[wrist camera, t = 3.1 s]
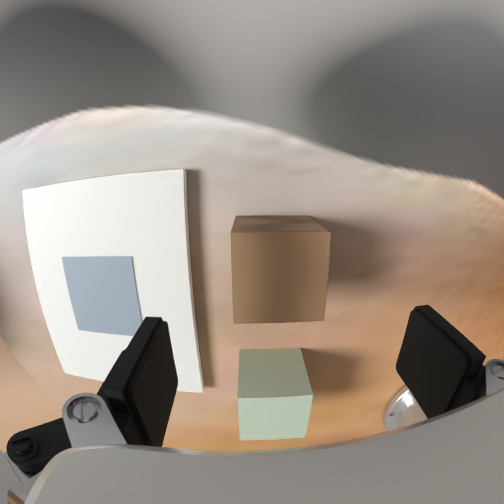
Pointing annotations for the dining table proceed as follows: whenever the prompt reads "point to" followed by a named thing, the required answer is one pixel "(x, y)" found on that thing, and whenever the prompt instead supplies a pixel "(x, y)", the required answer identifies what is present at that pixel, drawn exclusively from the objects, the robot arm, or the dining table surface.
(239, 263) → the walnut block
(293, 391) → the sage block
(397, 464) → the robot arm
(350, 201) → the dining table surface
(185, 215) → the board
